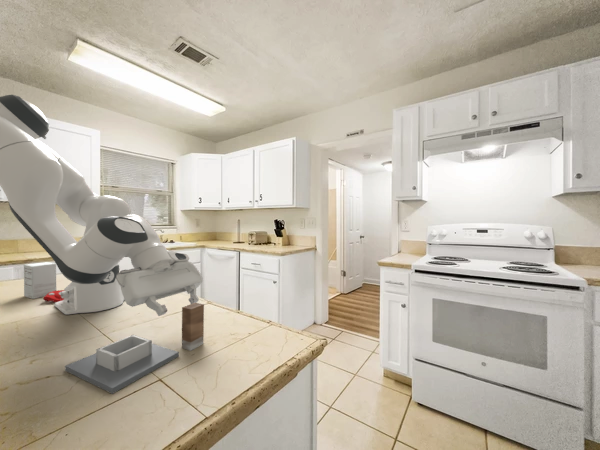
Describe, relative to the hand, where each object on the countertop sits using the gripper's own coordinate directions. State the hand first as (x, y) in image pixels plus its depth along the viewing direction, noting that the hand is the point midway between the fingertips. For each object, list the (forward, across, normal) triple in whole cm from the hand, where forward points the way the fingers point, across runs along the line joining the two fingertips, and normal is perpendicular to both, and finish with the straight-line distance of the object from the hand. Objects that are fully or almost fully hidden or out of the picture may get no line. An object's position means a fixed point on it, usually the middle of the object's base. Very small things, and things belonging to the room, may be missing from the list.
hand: (180, 307), depth 64 cm
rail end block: (+9, +1, +4) cm, 10 cm away
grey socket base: (+4, -11, +9) cm, 15 cm away
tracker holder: (-41, +6, +55) cm, 69 cm away
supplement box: (-52, +3, +65) cm, 83 cm away
